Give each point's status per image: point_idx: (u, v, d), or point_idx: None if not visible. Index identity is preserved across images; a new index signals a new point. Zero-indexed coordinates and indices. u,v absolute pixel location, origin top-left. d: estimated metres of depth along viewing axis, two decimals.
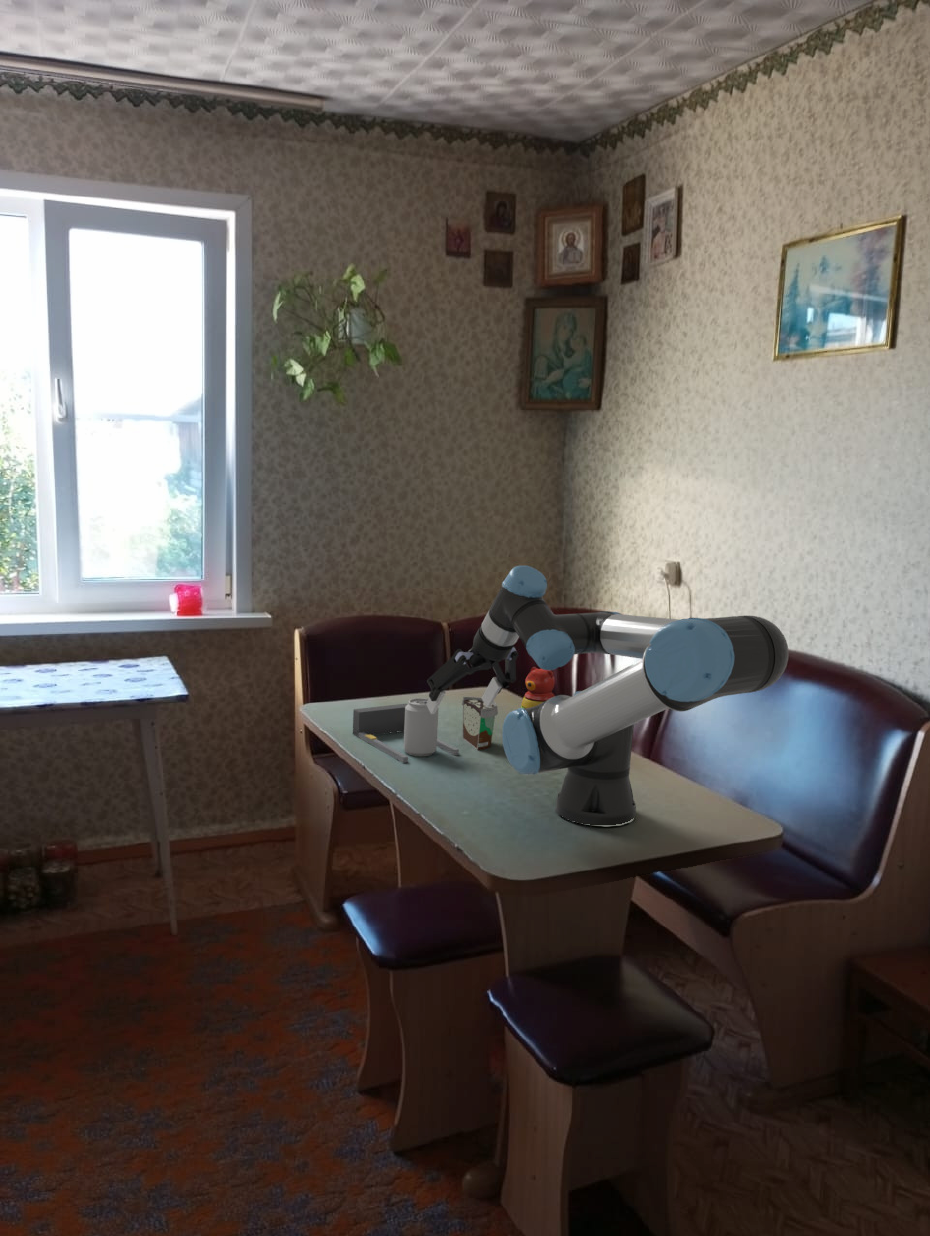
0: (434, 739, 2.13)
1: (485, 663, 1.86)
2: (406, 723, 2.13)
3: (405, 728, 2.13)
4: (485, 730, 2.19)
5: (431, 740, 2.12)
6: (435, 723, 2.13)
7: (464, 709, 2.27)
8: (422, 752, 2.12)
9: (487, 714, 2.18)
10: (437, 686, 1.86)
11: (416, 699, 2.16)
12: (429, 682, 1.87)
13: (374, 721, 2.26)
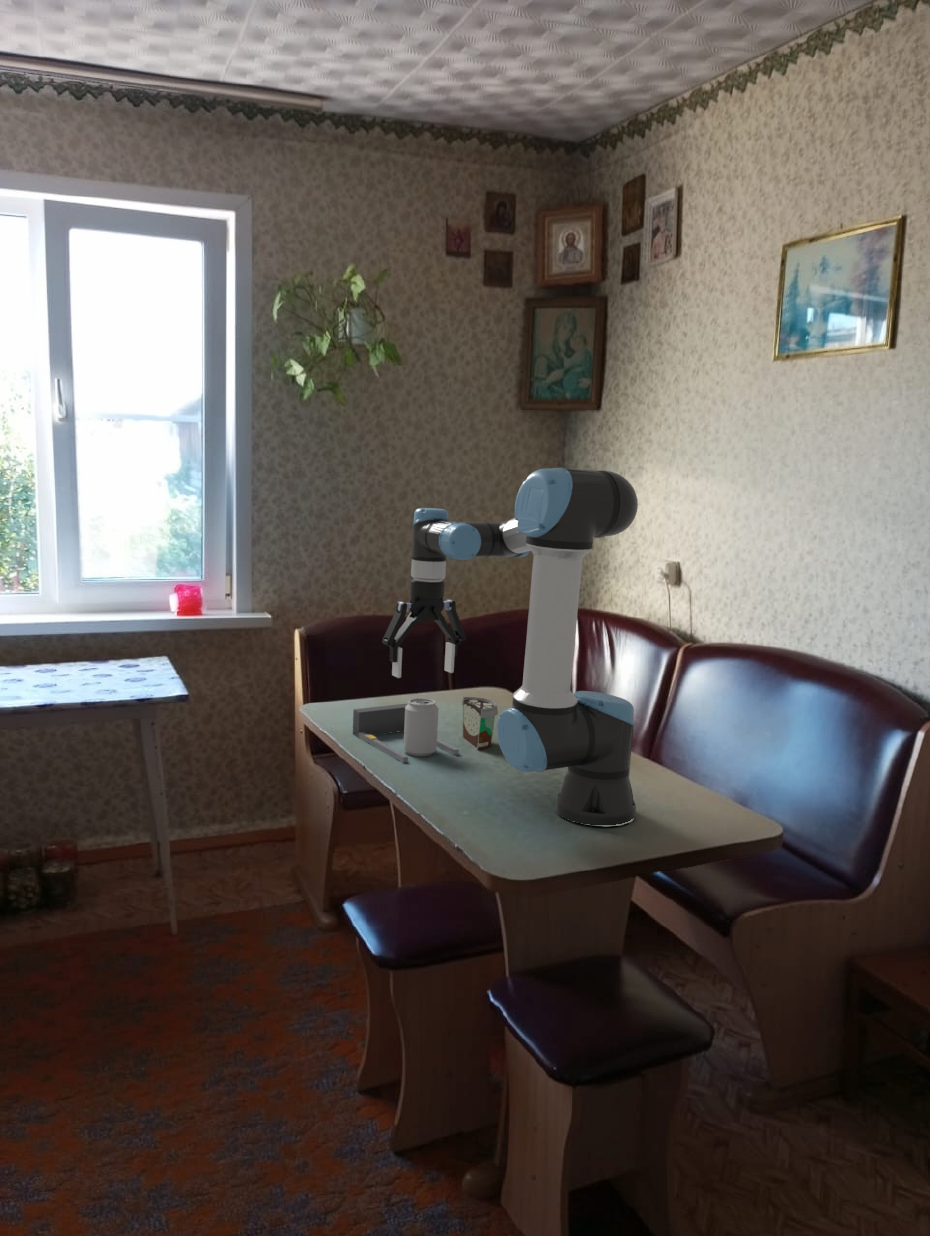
0: (434, 739, 2.13)
1: (426, 608, 2.08)
2: (406, 723, 2.13)
3: (405, 728, 2.13)
4: (485, 730, 2.19)
5: (431, 740, 2.12)
6: (435, 723, 2.13)
7: (464, 709, 2.27)
8: (422, 752, 2.12)
9: (487, 714, 2.18)
10: (391, 639, 2.05)
11: (416, 699, 2.16)
12: (384, 640, 2.06)
13: (374, 721, 2.26)
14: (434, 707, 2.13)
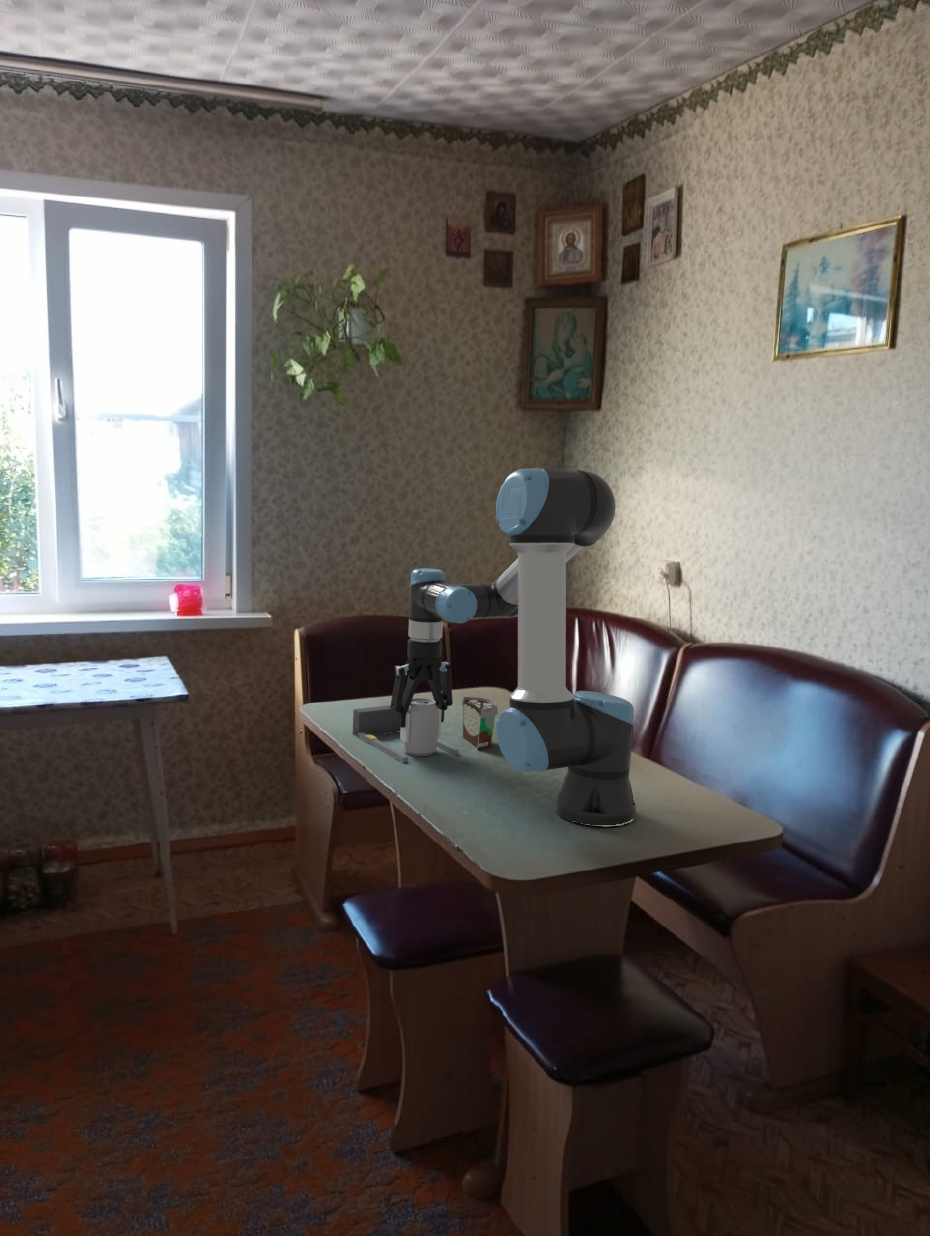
0: (434, 739, 2.13)
1: (423, 668, 2.10)
2: None
3: None
4: (485, 730, 2.19)
5: (431, 740, 2.12)
6: (435, 723, 2.13)
7: (464, 709, 2.27)
8: (422, 752, 2.12)
9: (487, 714, 2.18)
10: (398, 705, 2.09)
11: (416, 699, 2.16)
12: (392, 706, 2.10)
13: (374, 721, 2.26)
14: (434, 707, 2.13)
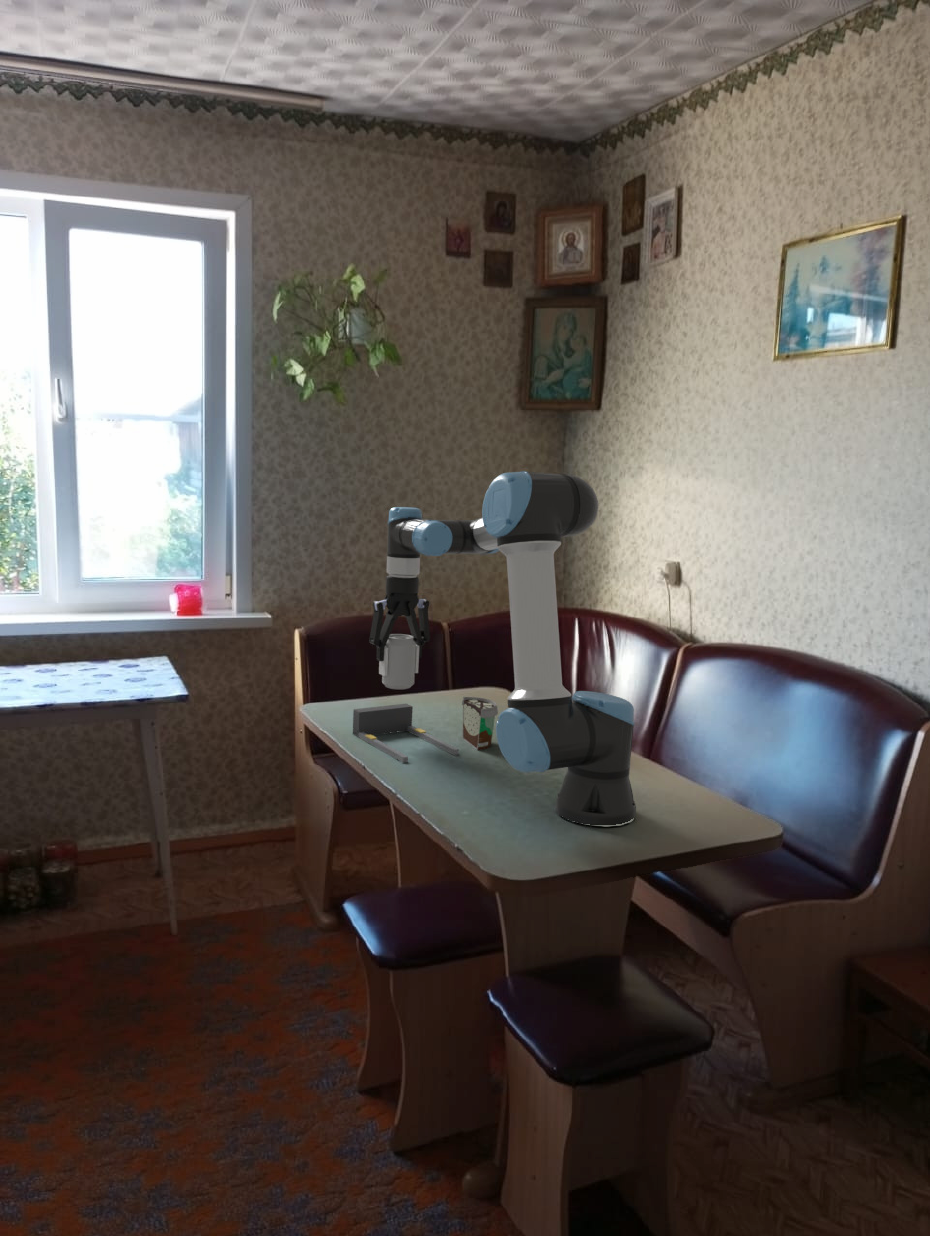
0: (412, 673, 2.20)
1: (401, 603, 2.17)
2: None
3: None
4: (485, 730, 2.19)
5: (409, 674, 2.19)
6: (412, 657, 2.20)
7: (464, 709, 2.27)
8: (400, 685, 2.19)
9: (487, 714, 2.18)
10: (377, 639, 2.16)
11: (394, 635, 2.23)
12: (371, 640, 2.17)
13: (374, 721, 2.26)
14: (411, 641, 2.19)
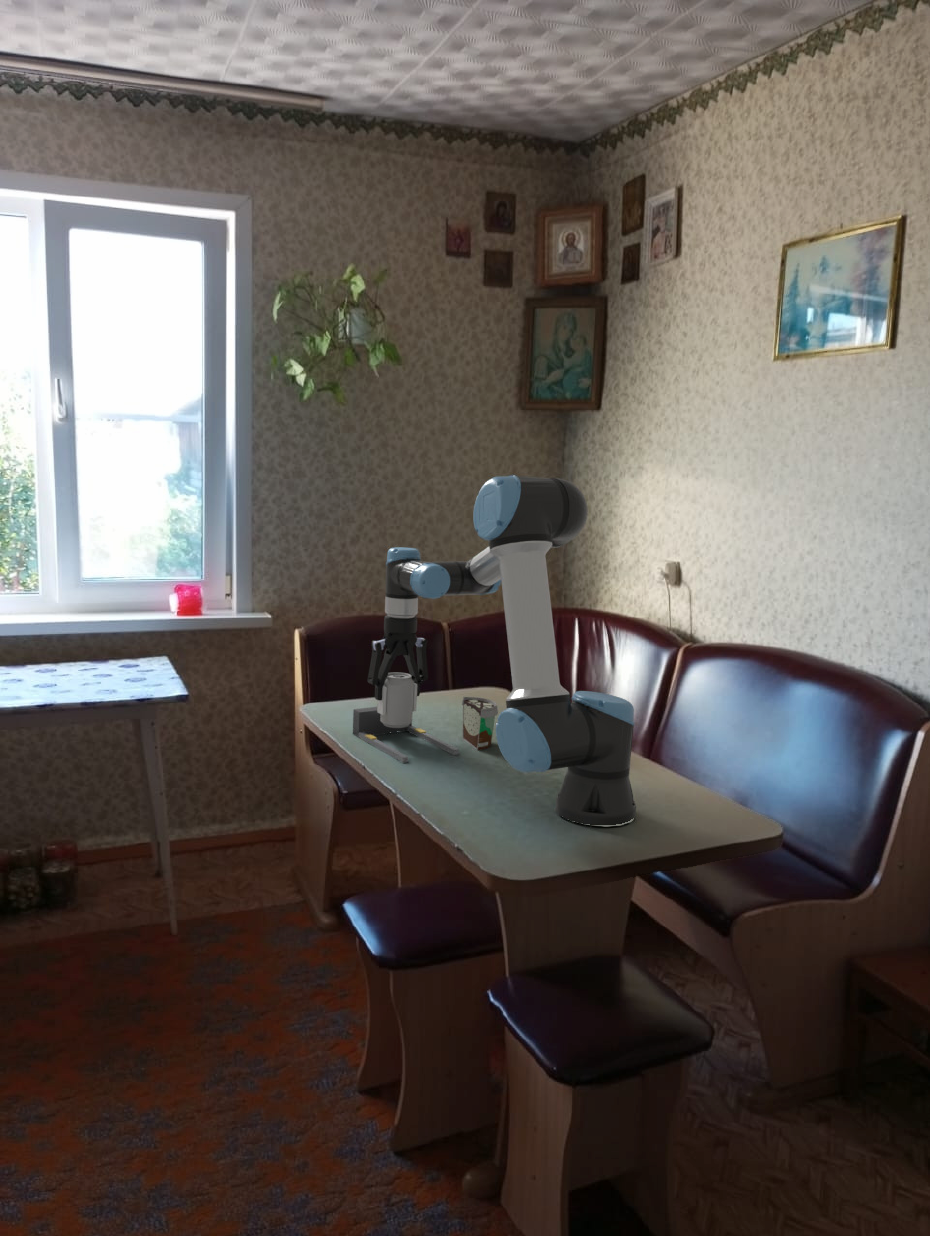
0: (410, 711, 2.22)
1: (399, 643, 2.19)
2: None
3: None
4: (485, 730, 2.19)
5: (407, 712, 2.21)
6: (411, 696, 2.21)
7: (464, 709, 2.27)
8: (398, 724, 2.20)
9: (487, 714, 2.18)
10: (375, 679, 2.17)
11: (393, 673, 2.25)
12: (369, 680, 2.18)
13: (374, 721, 2.26)
14: (410, 681, 2.21)
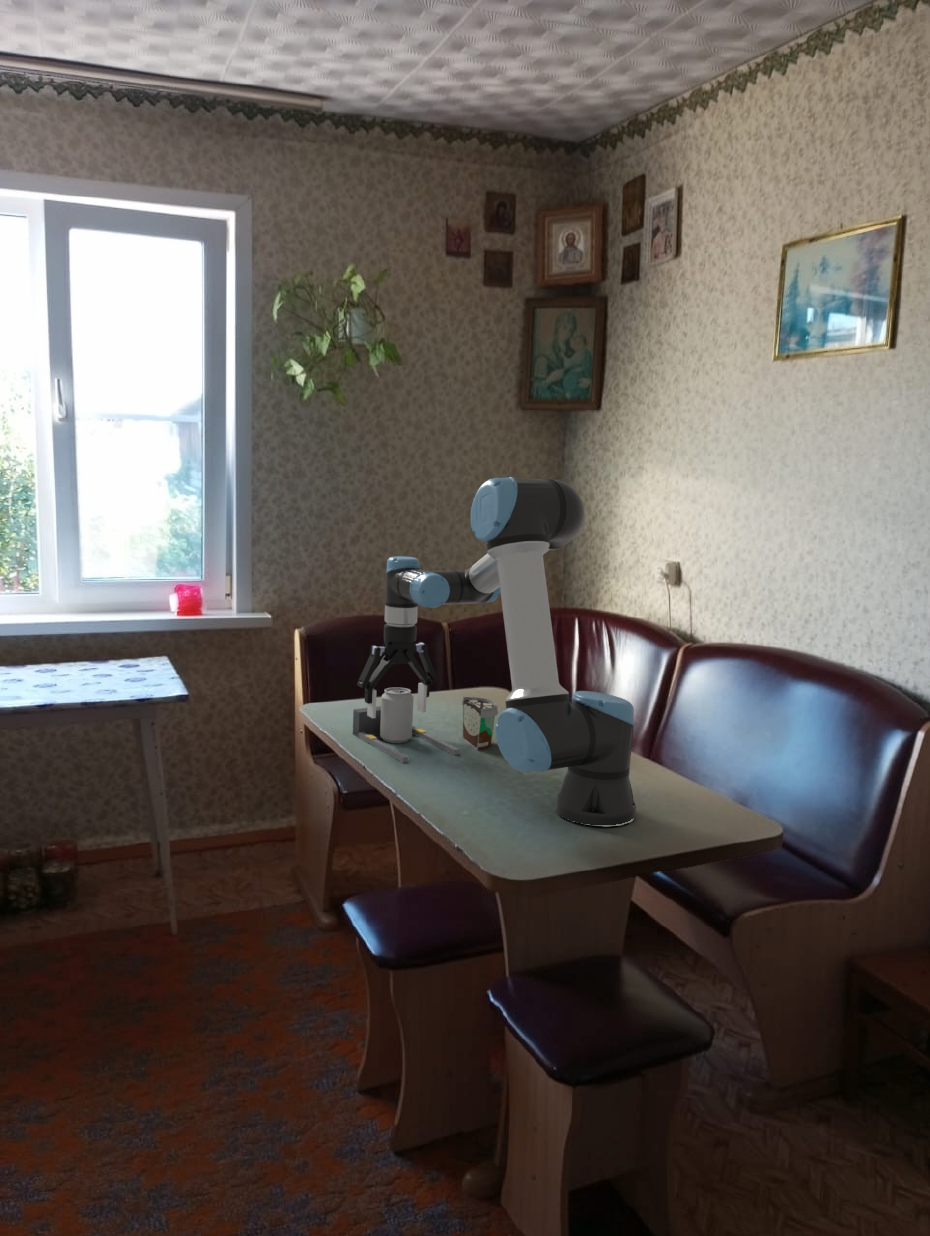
0: (409, 726, 2.22)
1: (399, 652, 2.19)
2: (382, 711, 2.22)
3: (381, 716, 2.22)
4: (485, 730, 2.19)
5: (407, 728, 2.21)
6: (410, 711, 2.22)
7: (464, 709, 2.27)
8: (397, 739, 2.21)
9: (487, 714, 2.18)
10: (366, 682, 2.16)
11: (392, 688, 2.25)
12: (359, 683, 2.17)
13: (374, 721, 2.26)
14: (409, 696, 2.21)
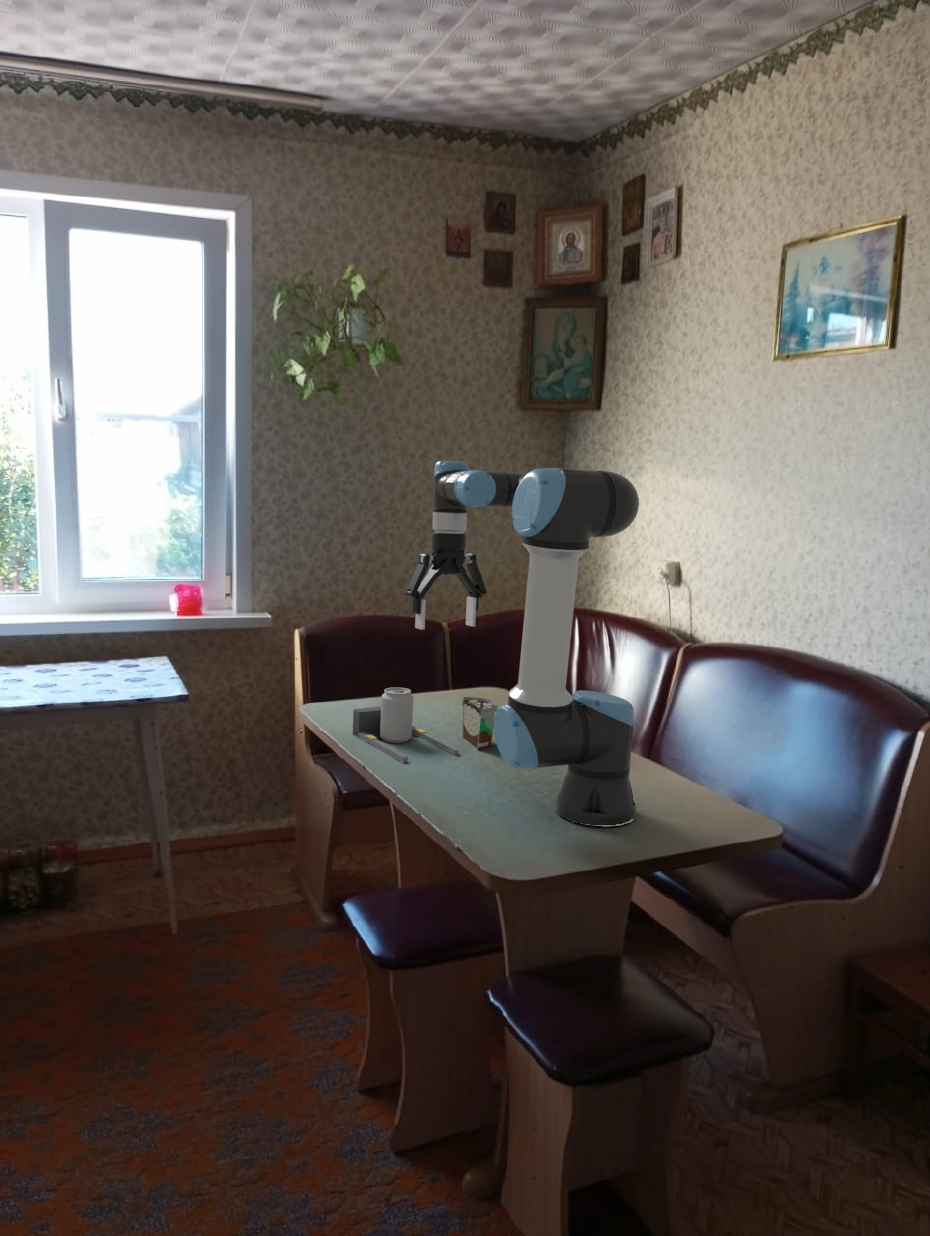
0: (409, 726, 2.22)
1: (448, 560, 2.10)
2: (382, 711, 2.22)
3: (381, 716, 2.22)
4: (485, 730, 2.19)
5: (407, 728, 2.21)
6: (410, 711, 2.22)
7: (464, 709, 2.27)
8: (397, 739, 2.21)
9: (487, 714, 2.18)
10: (415, 590, 2.07)
11: (392, 688, 2.25)
12: (407, 592, 2.08)
13: (374, 721, 2.26)
14: (409, 696, 2.21)
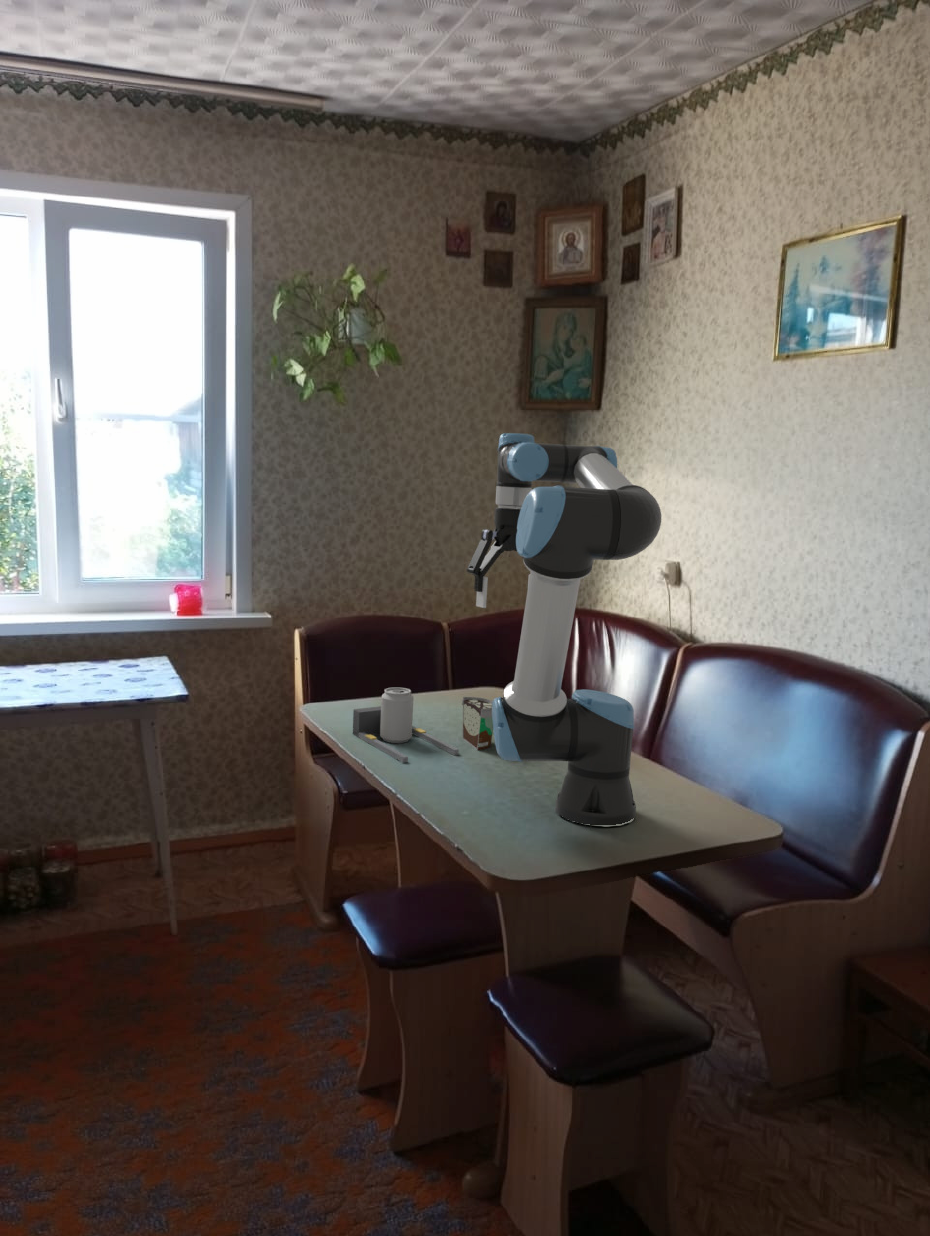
0: (409, 726, 2.22)
1: (512, 536, 2.03)
2: (382, 711, 2.22)
3: (381, 716, 2.22)
4: (485, 730, 2.19)
5: (407, 728, 2.21)
6: (410, 711, 2.22)
7: (464, 709, 2.27)
8: (397, 739, 2.21)
9: (487, 714, 2.18)
10: (477, 567, 2.00)
11: (392, 688, 2.25)
12: (469, 569, 2.01)
13: (374, 721, 2.26)
14: (409, 696, 2.21)
